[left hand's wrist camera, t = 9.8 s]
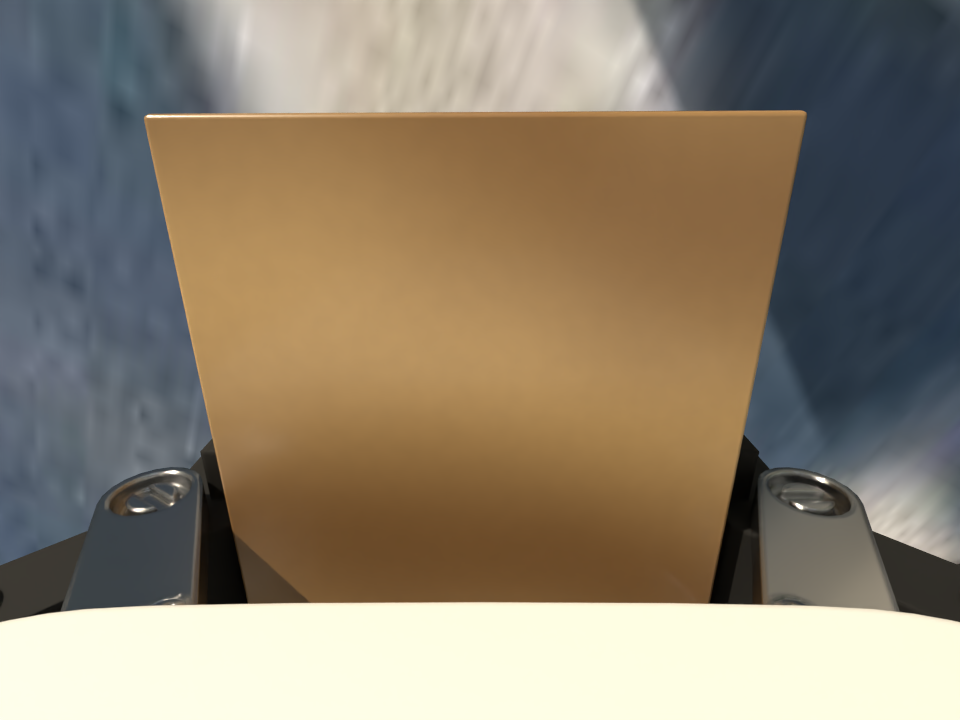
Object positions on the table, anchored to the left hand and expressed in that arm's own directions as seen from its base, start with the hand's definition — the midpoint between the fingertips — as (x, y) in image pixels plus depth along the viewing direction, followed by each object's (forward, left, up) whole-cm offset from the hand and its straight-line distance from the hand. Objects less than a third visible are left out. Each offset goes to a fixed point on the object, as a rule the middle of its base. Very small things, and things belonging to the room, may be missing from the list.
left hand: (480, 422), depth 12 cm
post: (+3, +26, -2) cm, 26 cm away
